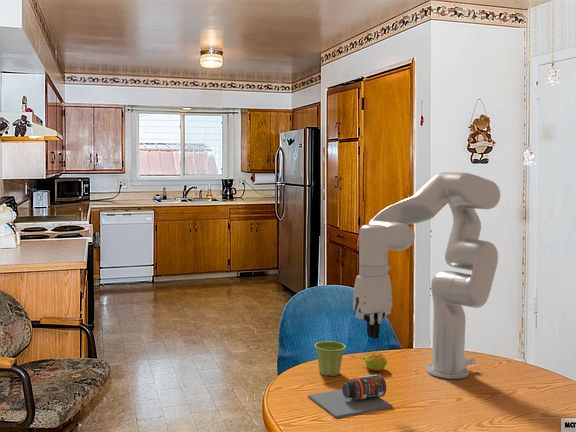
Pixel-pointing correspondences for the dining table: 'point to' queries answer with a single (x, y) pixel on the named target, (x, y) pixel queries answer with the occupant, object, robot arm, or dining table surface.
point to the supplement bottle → (364, 387)
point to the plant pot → (329, 357)
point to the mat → (347, 404)
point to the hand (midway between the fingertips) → (373, 337)
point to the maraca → (375, 361)
